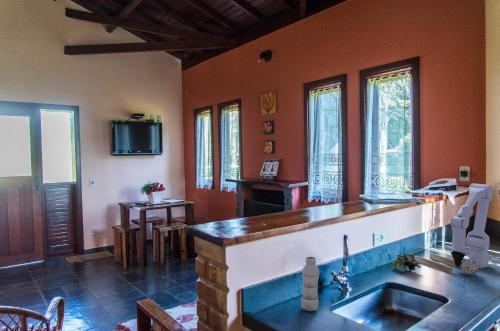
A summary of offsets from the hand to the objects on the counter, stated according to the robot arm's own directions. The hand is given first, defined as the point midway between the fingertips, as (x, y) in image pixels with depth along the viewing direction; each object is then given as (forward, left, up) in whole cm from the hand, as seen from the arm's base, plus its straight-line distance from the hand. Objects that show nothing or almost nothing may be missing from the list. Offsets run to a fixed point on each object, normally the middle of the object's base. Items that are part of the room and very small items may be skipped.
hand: (457, 266), depth 187 cm
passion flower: (+26, -10, -3) cm, 28 cm away
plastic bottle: (+96, +8, -3) cm, 96 cm away
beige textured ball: (0, +6, -3) cm, 7 cm away
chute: (0, -10, -2) cm, 10 cm away
